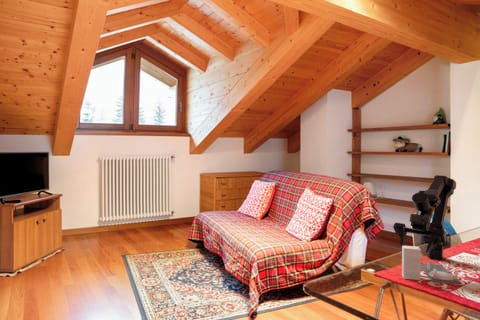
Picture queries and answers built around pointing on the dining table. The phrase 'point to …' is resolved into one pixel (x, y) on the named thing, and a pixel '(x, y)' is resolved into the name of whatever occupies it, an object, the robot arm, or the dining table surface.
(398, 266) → the dining table surface
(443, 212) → the robot arm
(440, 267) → the tray
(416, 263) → the skincare box
